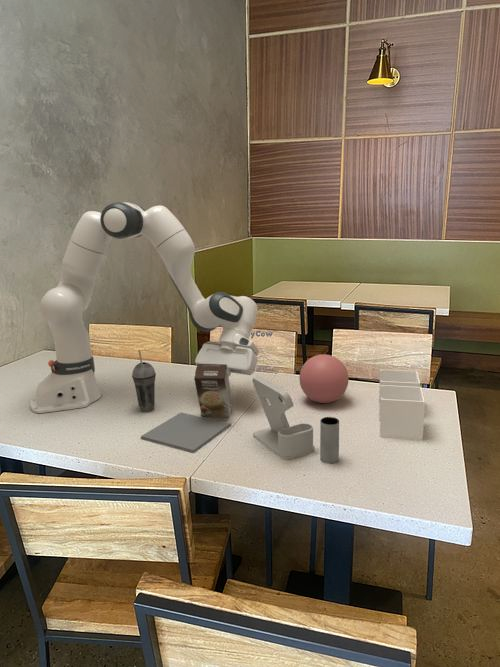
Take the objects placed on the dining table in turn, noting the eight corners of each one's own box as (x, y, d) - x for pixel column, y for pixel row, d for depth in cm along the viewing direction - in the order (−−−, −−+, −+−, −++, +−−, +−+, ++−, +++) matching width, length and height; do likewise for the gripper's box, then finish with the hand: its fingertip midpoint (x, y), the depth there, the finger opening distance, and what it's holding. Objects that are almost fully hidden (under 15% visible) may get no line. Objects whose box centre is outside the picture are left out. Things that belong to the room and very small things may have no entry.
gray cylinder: (318, 455, 124) (318, 417, 121) (336, 453, 124) (336, 416, 122) (322, 464, 119) (322, 425, 117) (340, 462, 120) (341, 423, 117)
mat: (181, 414, 151) (180, 412, 151) (230, 425, 142) (230, 423, 142) (141, 438, 136) (140, 436, 136) (193, 452, 127) (193, 450, 127)
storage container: (422, 440, 130) (424, 402, 127) (379, 437, 133) (381, 399, 130) (415, 404, 153) (417, 371, 151) (378, 402, 156) (380, 369, 153)
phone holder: (317, 451, 126) (318, 385, 121) (284, 461, 121) (283, 393, 117) (281, 426, 141) (280, 366, 136) (250, 435, 136) (248, 373, 131)
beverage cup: (163, 407, 157) (158, 347, 152) (149, 415, 151) (144, 353, 146) (144, 403, 160) (139, 345, 155) (130, 412, 154) (124, 351, 149)
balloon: (360, 393, 163) (361, 348, 160) (335, 414, 147) (336, 365, 144) (318, 385, 172) (319, 343, 168) (290, 404, 156) (290, 358, 152)
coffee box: (200, 417, 149) (192, 378, 139) (203, 401, 154) (196, 363, 144) (230, 417, 148) (224, 378, 138) (232, 401, 153) (227, 363, 143)
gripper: (200, 335, 158) (184, 373, 152) (256, 341, 148) (241, 382, 142) (209, 345, 163) (194, 382, 157) (264, 352, 153) (249, 392, 147)
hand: (217, 382), depth 149 cm, fingers closed
